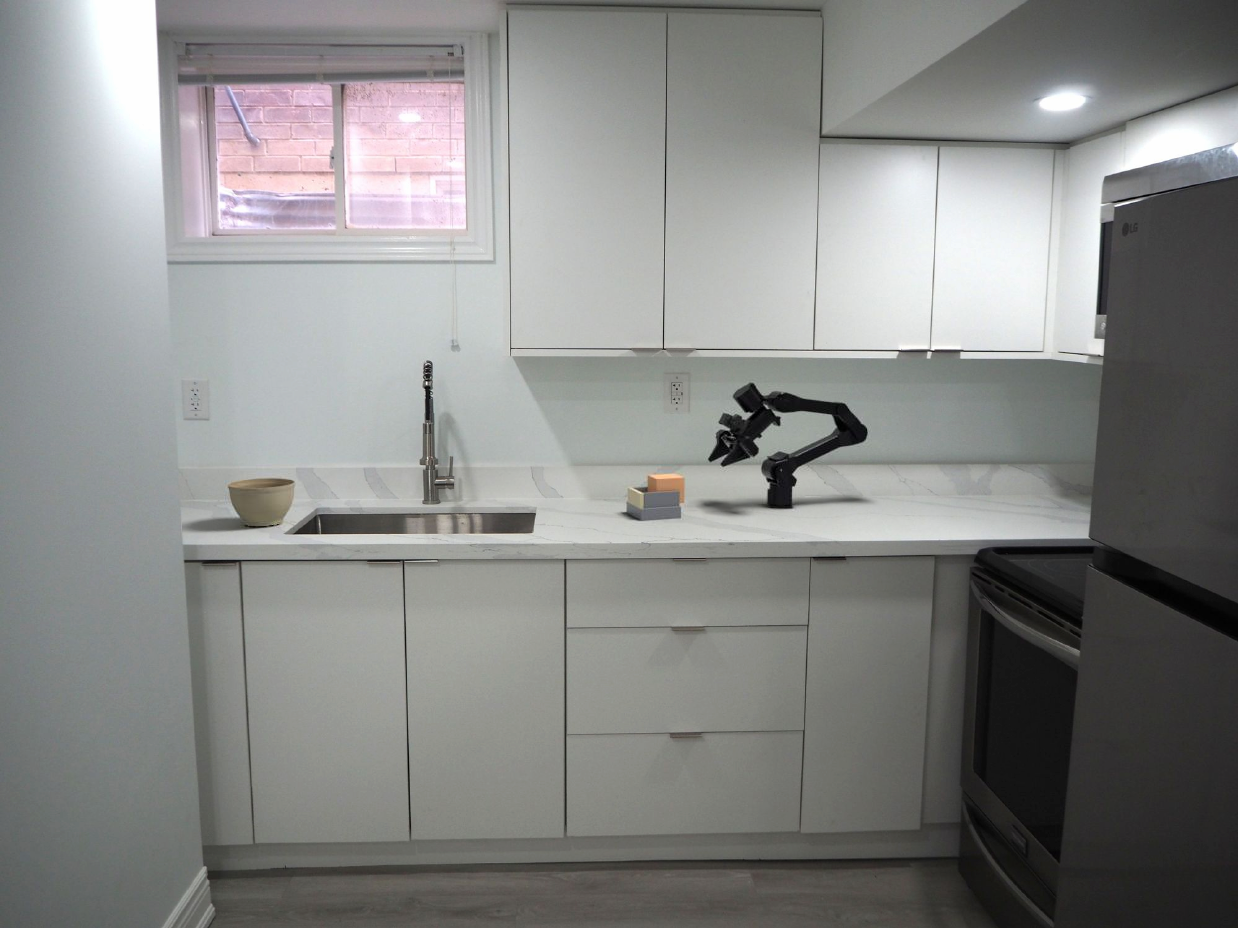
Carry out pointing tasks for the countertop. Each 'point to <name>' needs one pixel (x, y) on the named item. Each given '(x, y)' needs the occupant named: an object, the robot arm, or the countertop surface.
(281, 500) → the planter bowl
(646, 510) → the open gray box
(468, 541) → the countertop surface
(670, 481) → the orange block
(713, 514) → the countertop surface
